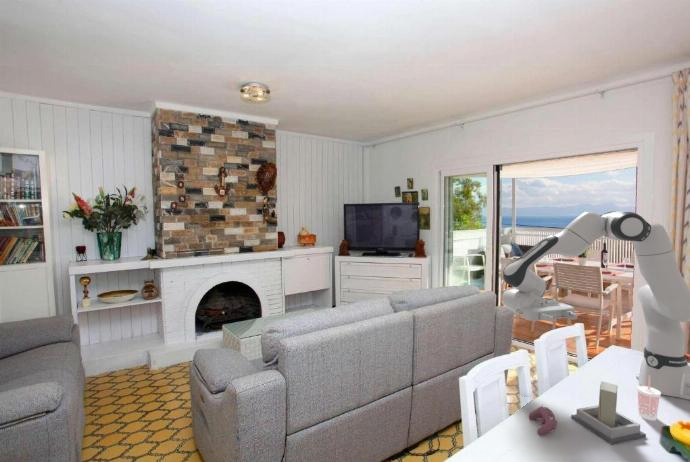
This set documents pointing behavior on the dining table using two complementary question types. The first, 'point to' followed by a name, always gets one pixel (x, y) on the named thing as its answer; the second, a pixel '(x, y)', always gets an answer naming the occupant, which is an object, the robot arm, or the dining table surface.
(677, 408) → the dining table surface
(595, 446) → the dining table surface
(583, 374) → the dining table surface
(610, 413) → the skincare box
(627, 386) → the dining table surface
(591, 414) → the socket dock
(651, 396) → the beverage cup
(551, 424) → the video game controller
